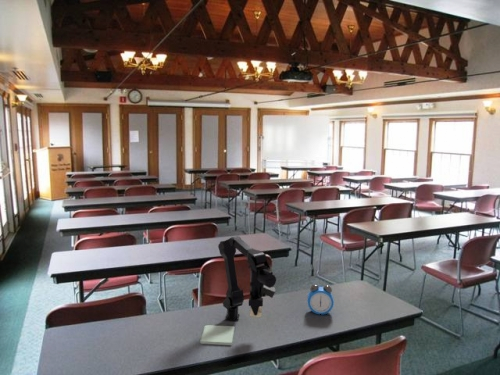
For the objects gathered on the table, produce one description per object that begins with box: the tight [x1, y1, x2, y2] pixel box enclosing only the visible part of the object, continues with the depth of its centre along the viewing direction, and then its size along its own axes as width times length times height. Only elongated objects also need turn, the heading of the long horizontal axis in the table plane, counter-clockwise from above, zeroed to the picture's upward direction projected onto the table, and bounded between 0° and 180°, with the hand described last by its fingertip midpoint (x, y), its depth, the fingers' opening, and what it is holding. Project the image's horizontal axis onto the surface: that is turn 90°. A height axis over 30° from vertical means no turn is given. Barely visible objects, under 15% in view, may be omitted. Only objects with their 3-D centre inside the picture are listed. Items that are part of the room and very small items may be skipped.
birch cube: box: [249, 306, 263, 318], centre depth 175 cm, size 5×5×5 cm
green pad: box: [199, 324, 236, 346], centre depth 175 cm, size 14×14×1 cm
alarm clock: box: [307, 283, 335, 315], centre depth 199 cm, size 13×6×15 cm, turn 83°
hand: (255, 312), depth 176 cm, fingers closed on birch cube, 5 cm apart
